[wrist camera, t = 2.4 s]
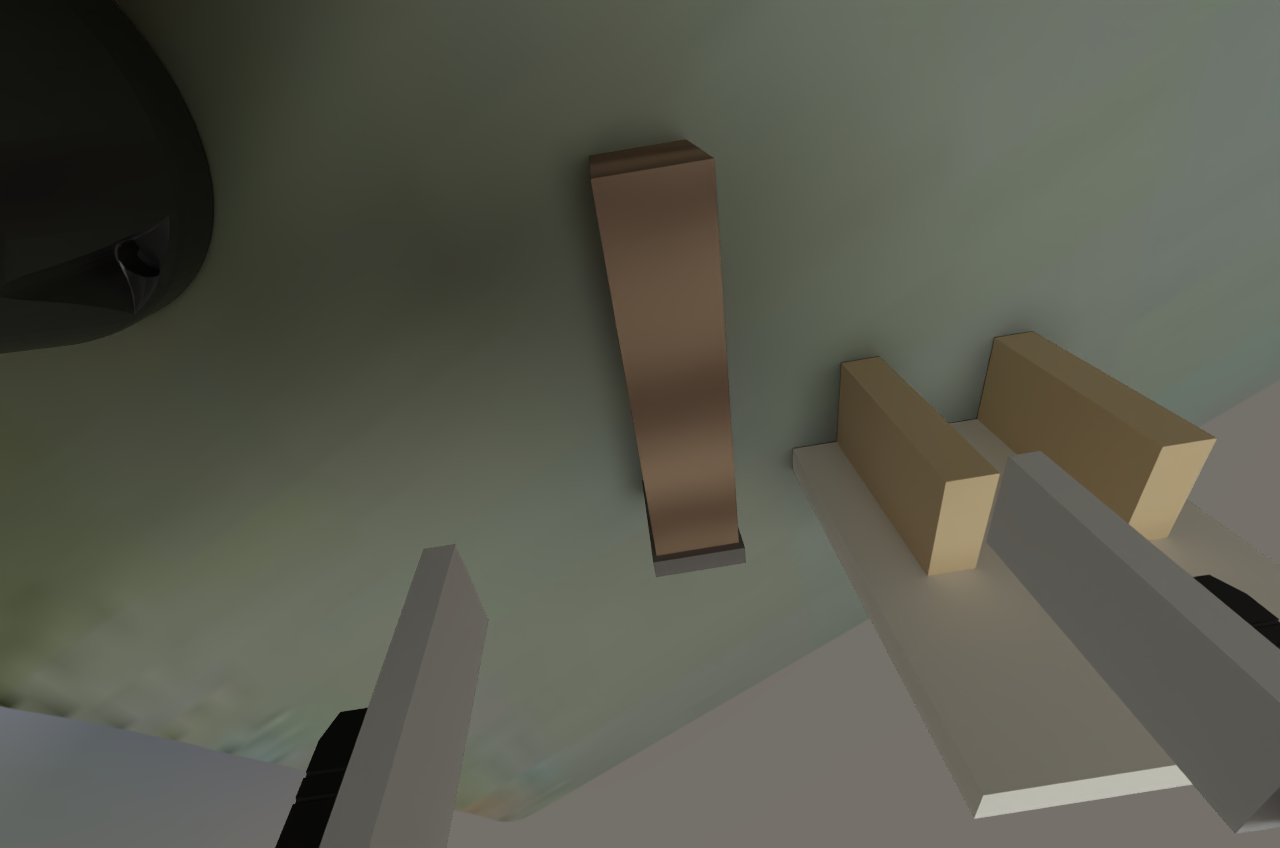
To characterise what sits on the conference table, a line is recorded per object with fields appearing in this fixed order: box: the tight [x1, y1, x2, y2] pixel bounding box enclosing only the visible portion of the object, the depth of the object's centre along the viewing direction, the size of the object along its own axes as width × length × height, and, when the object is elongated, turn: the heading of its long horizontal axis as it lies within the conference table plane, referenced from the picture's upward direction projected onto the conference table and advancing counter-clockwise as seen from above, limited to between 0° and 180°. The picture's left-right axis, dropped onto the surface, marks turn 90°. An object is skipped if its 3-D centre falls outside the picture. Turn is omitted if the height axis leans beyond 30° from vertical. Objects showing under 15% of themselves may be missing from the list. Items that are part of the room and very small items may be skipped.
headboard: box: [793, 332, 1280, 819], centre depth 23 cm, size 6×15×18 cm, turn 98°
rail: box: [590, 140, 746, 577], centre depth 25 cm, size 18×4×6 cm, turn 8°
